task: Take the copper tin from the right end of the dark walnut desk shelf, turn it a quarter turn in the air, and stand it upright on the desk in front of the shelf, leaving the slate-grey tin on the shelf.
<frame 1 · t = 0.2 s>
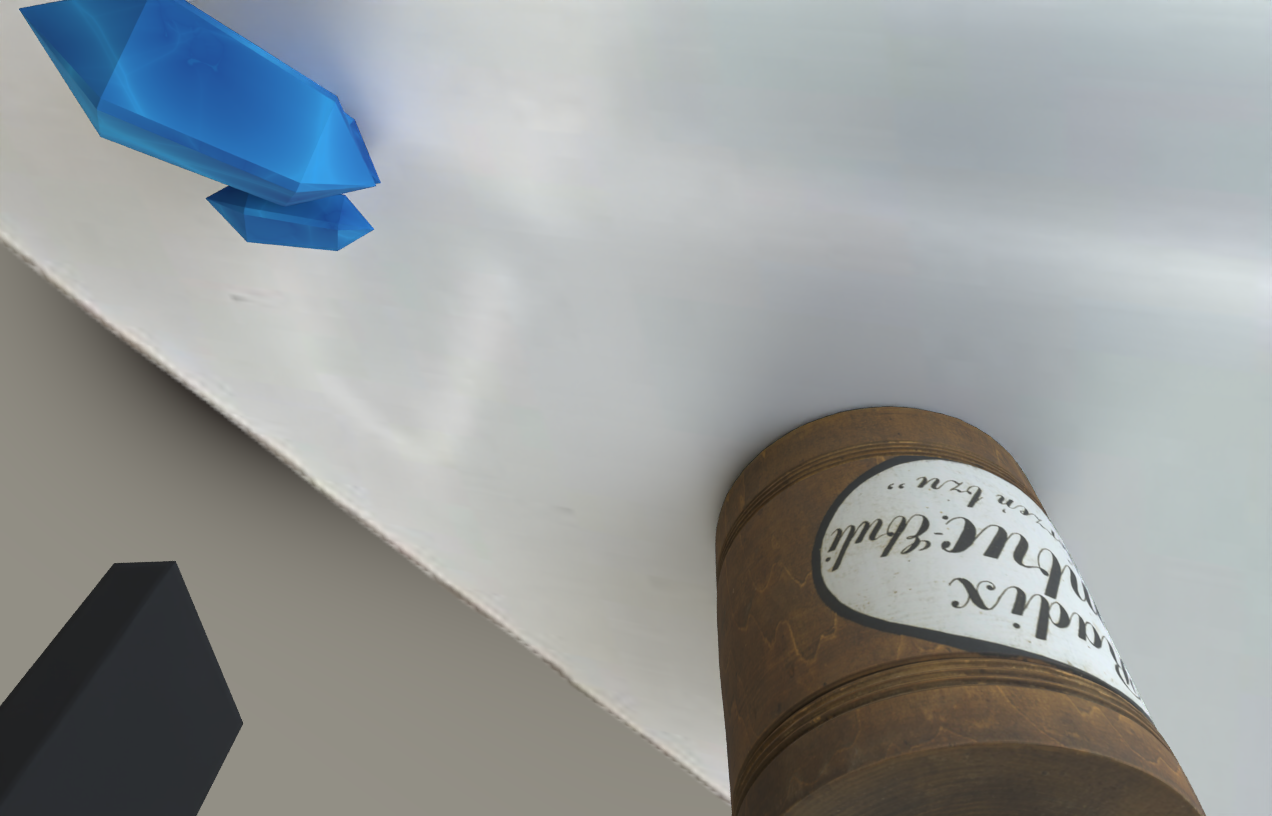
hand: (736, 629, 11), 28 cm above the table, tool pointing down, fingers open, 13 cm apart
crystal: (275, 93, 36), on the table
wooden container: (872, 535, 45), on the table
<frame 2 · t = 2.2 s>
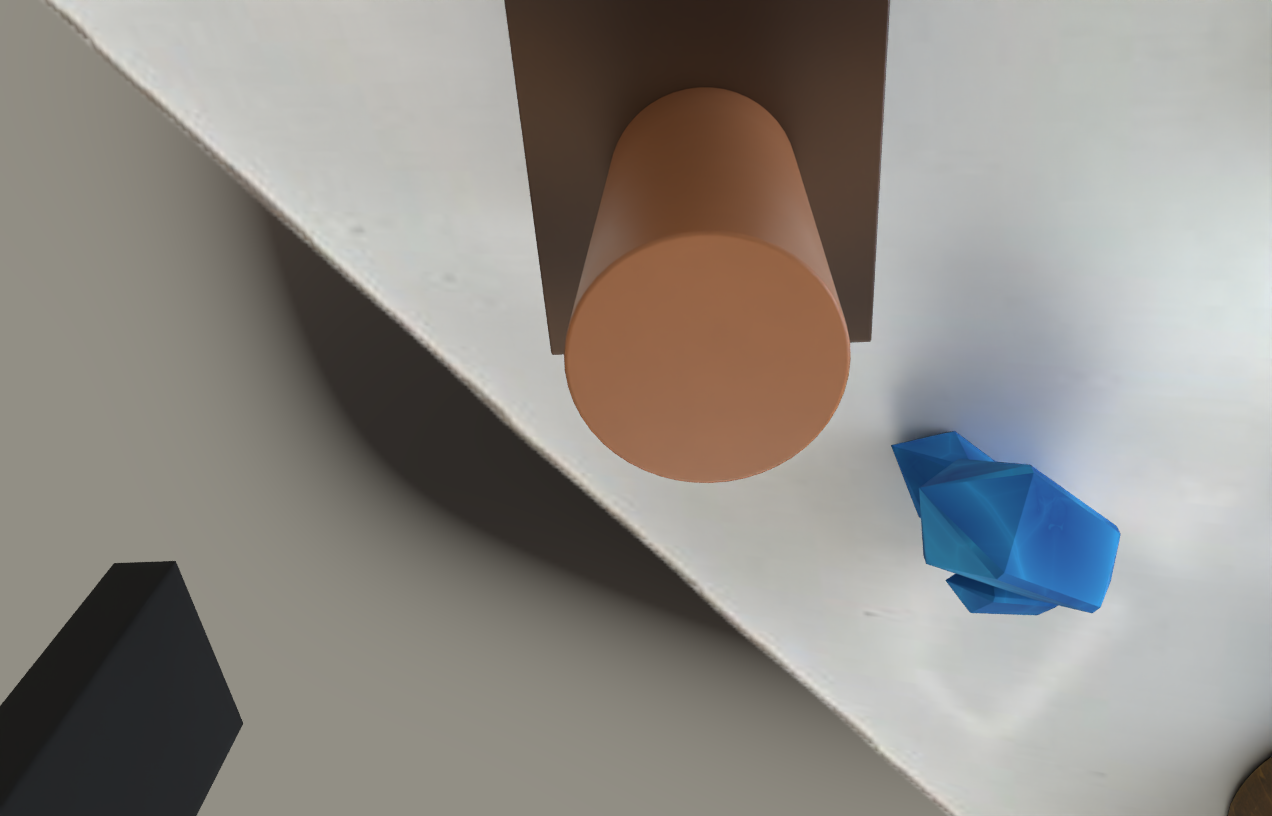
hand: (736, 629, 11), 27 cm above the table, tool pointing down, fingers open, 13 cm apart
crystal: (968, 470, 42), on the table
copper tin: (702, 182, 25), point 11 cm above the table, touching desk shelf
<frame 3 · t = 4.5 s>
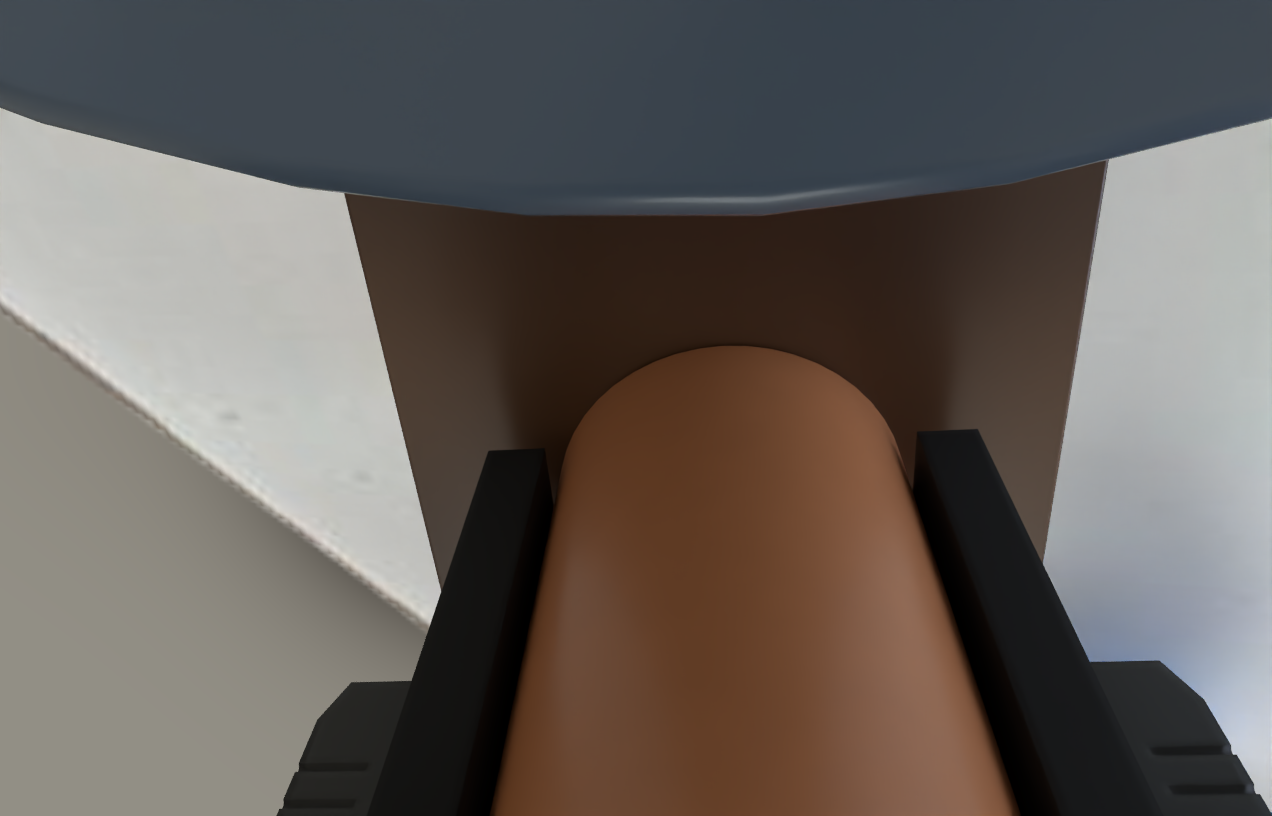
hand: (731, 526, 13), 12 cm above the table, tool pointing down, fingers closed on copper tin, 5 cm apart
copper tin: (729, 494, 14), point 11 cm above the table, touching desk shelf, gripper
desk shelf: (704, 2, 21), on the table
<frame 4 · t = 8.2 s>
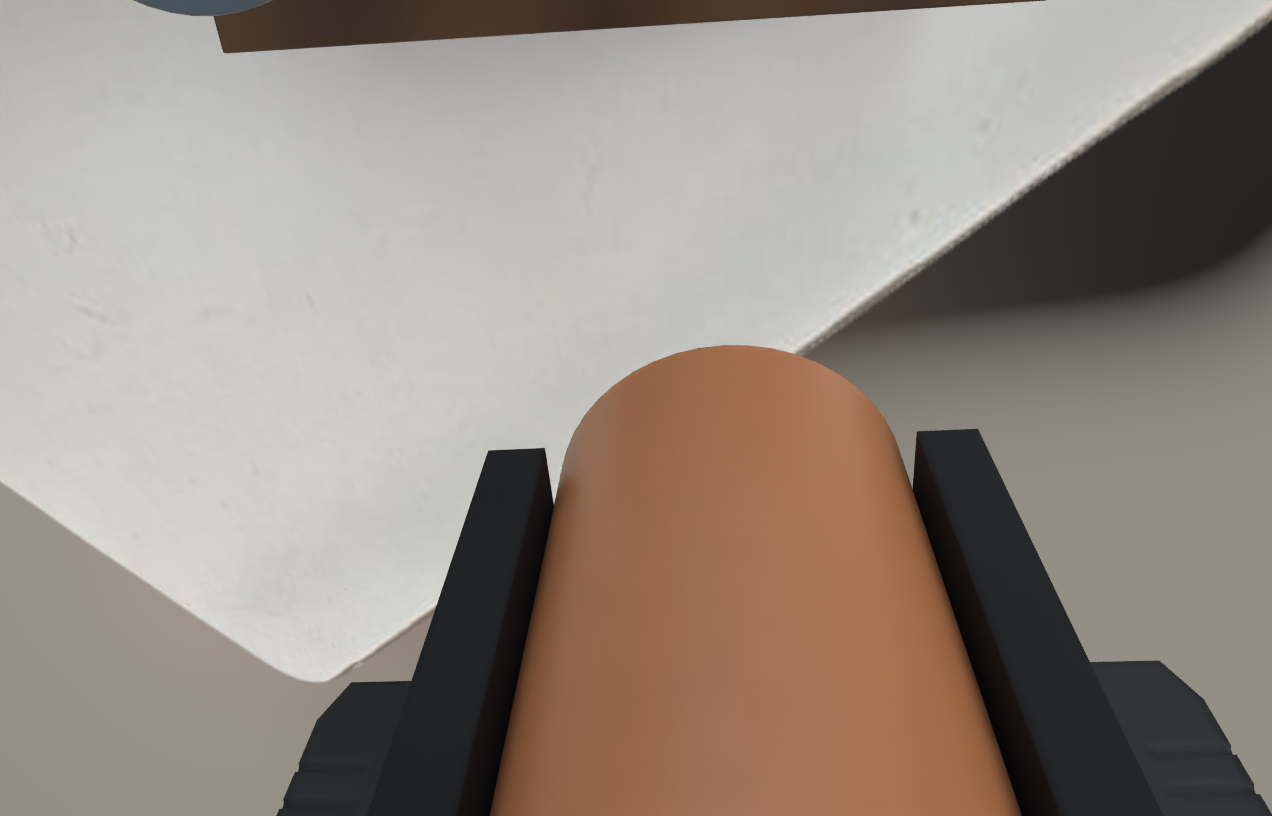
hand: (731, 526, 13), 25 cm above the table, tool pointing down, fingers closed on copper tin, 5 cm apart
copper tin: (730, 494, 14), point 24 cm above the table, touching gripper
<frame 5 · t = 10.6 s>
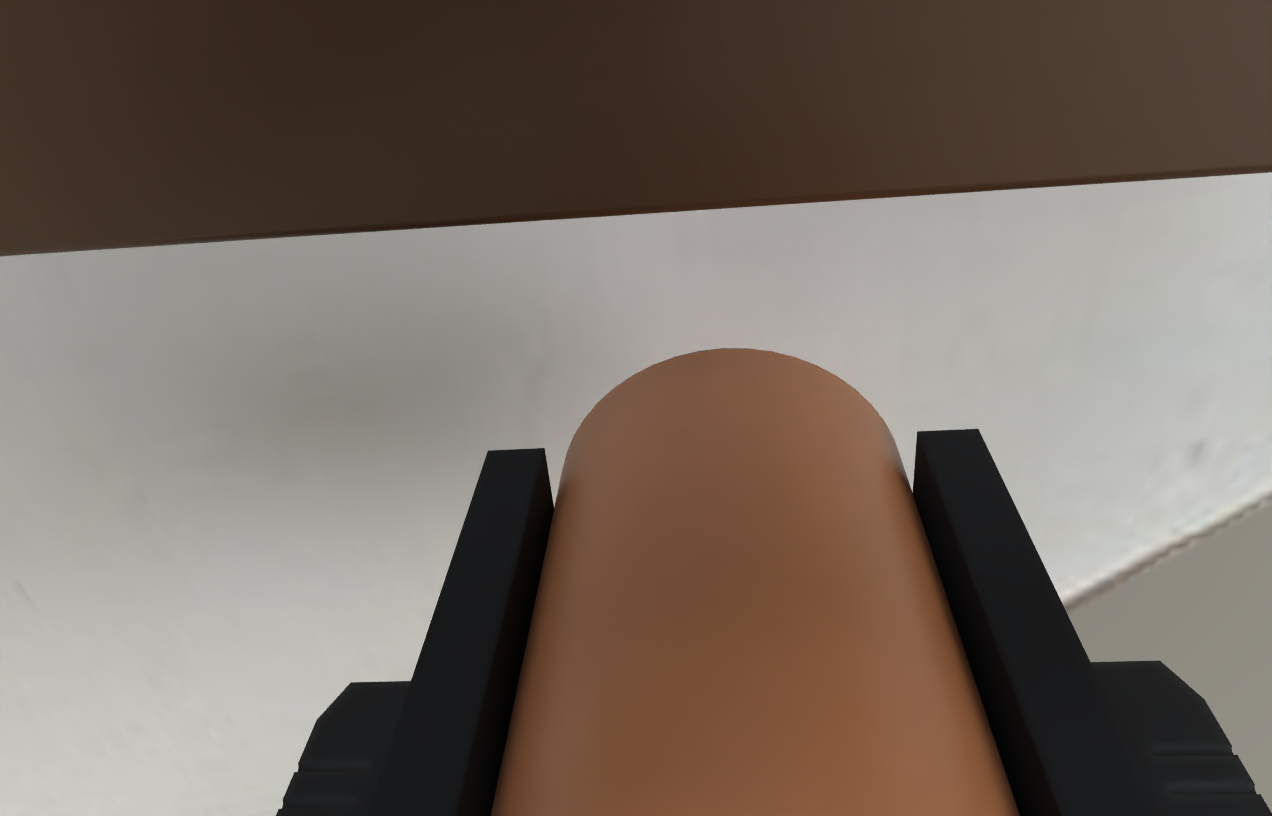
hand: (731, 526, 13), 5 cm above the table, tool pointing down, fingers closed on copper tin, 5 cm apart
copper tin: (729, 496, 14), point 4 cm above the table, touching gripper
when the fingers open (1 cm above the table, at t = 12.1 s): copper tin stays where it is, on the table.
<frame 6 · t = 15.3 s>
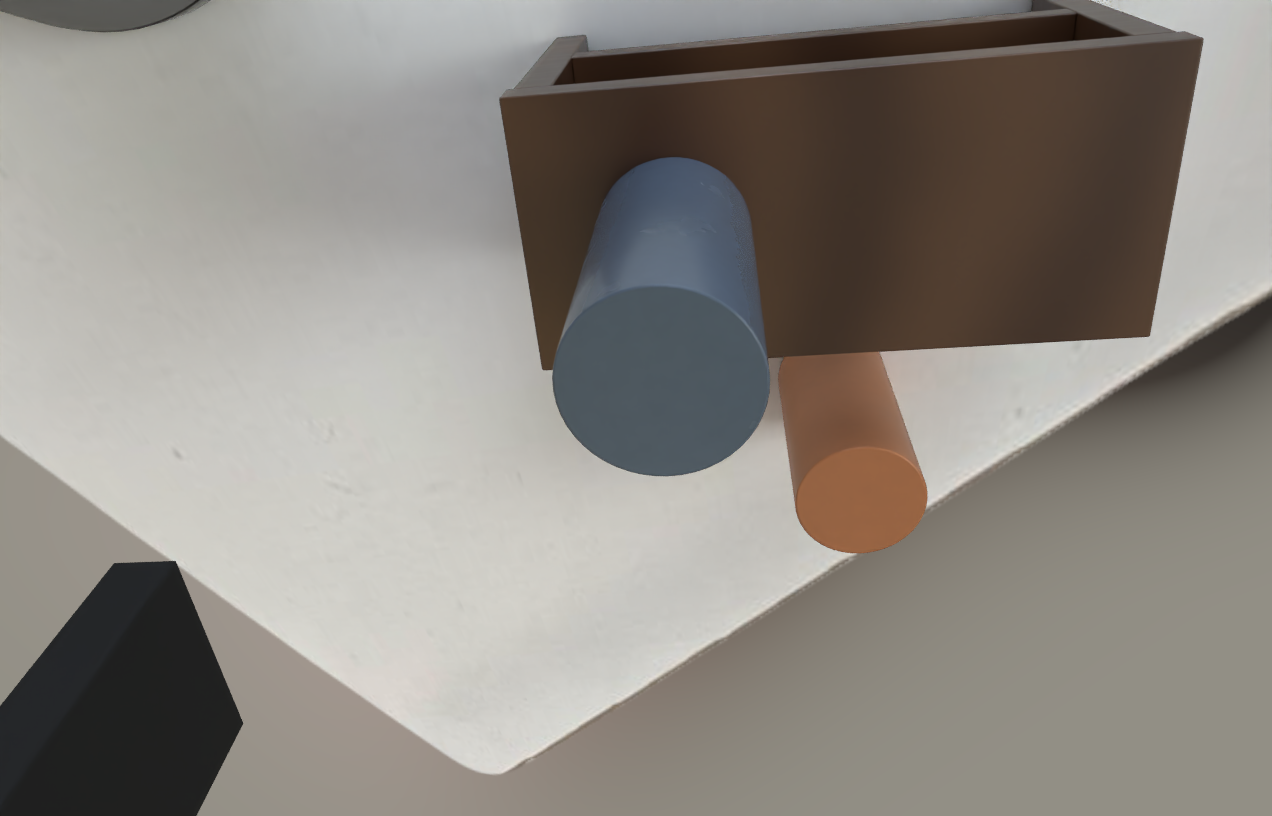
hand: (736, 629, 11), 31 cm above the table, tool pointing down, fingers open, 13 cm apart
copper tin: (830, 376, 44), on the table
desk shelf: (805, 133, 39), on the table
slate tin: (673, 233, 30), point 11 cm above the table, touching desk shelf
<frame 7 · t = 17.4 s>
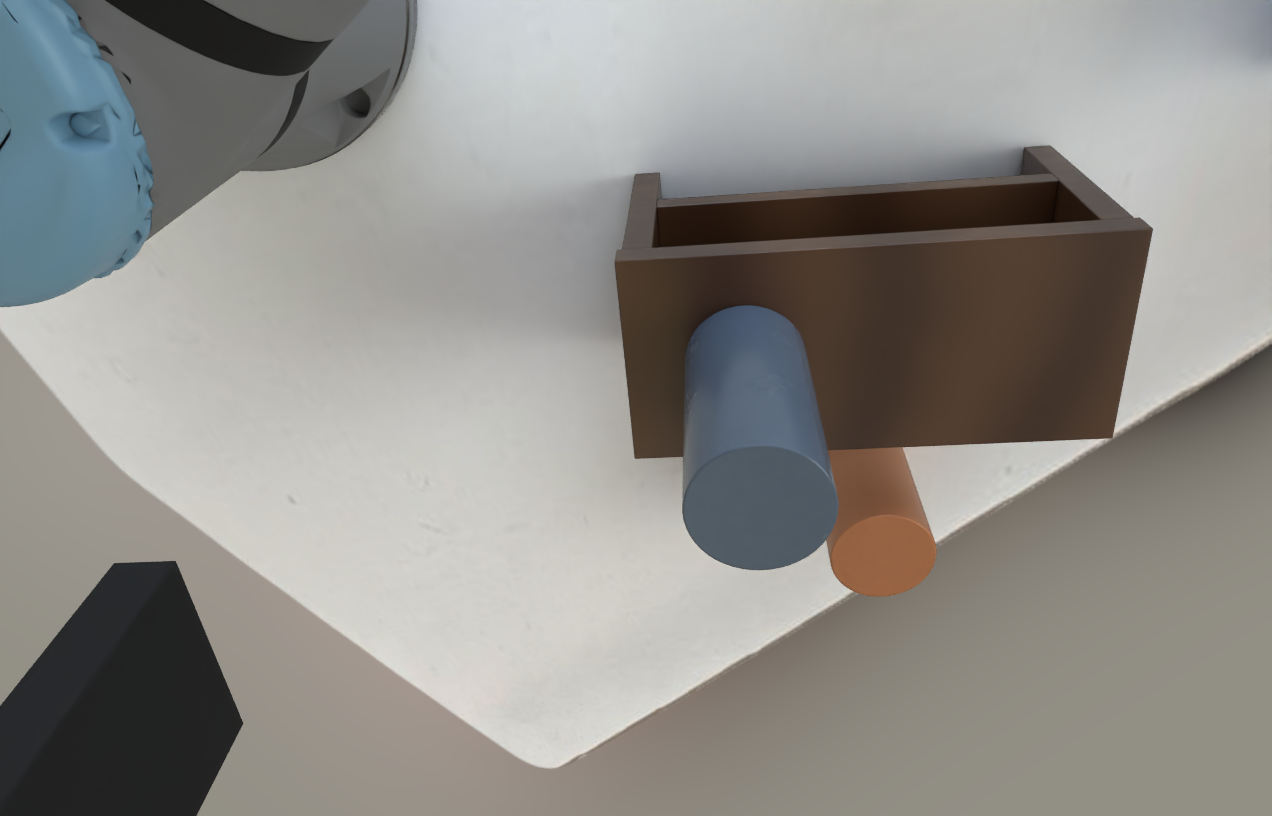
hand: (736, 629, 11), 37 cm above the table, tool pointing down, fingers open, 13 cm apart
copper tin: (852, 440, 53), on the table
desk shelf: (837, 250, 47), on the table
slate tin: (745, 359, 38), point 11 cm above the table, touching desk shelf
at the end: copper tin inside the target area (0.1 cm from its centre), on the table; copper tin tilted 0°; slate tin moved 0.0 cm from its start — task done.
